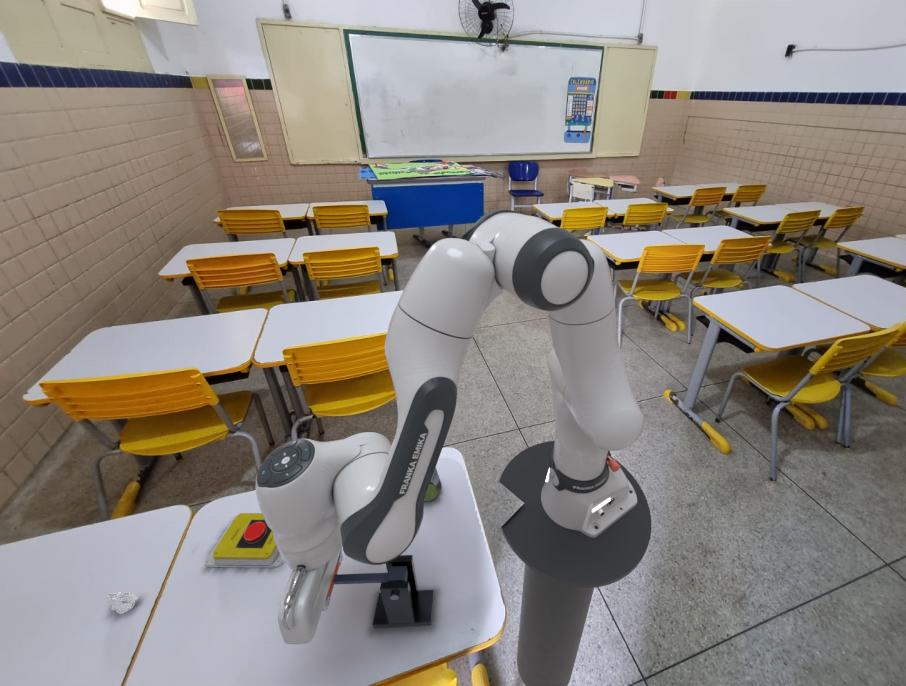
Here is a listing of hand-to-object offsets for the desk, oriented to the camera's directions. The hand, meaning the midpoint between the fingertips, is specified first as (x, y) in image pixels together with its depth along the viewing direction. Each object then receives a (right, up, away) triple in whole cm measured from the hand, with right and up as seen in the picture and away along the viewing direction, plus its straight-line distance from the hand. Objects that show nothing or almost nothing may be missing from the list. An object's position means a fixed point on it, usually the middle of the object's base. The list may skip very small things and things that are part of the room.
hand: (330, 583), depth 63 cm
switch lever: (+6, 0, 0) cm, 6 cm away
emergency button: (-22, -3, +15) cm, 27 cm away
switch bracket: (+11, -9, +5) cm, 15 cm away
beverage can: (+11, +2, +26) cm, 28 cm away
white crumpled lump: (-39, -8, +5) cm, 40 cm away
